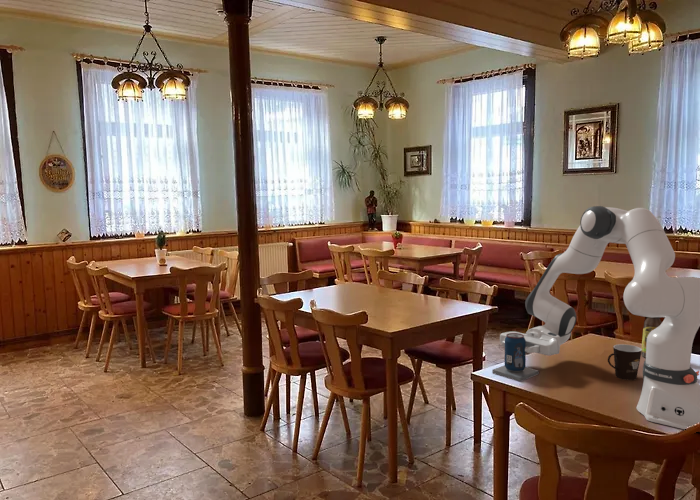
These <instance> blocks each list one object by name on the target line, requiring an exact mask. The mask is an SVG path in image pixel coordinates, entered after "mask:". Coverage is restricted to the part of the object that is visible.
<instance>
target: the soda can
mask: <svg viewBox="0 0 700 500" xmlns="http://www.w3.org/2000/svg"><path fill="white" fill-rule="evenodd" d="M519 333H520V332H519ZM519 333H509V334H507V335H506V338H505V347H504V365H505V367H506V369H507V370H509V371H512V372H521V371H523V370H524V368H525V367H527V366H526V365H527V363H526V362H527V361H526V360H527V359H526V357H527V355H526V354H527V352H525V347H526V340H525V338H524V335H522V334H519Z"/></svg>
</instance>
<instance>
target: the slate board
mask: <svg viewBox="0 0 700 500" xmlns="http://www.w3.org/2000/svg"><path fill="white" fill-rule="evenodd" d="M539 371H540V370H538V369H534V368H530V367H527V366H525V368H524V370H523V371H521V372H512V371H509V370H507V369H506V367H505V364H504V365H502V366H498V367H496V368H493V369H492V372H491V373H492V374H493V375H498V376H501V377H504V378H507V379H509V380H510V379H511V380H514V381H517V382H521V381H525V380H528V379H529V378H532V377H535V376H537V375H539V373H540V372H539Z"/></svg>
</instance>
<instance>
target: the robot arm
mask: <svg viewBox="0 0 700 500" xmlns="http://www.w3.org/2000/svg"><path fill="white" fill-rule="evenodd" d="M609 243H611V244H620V245H621V244H623V245H625V246H626V249H627V251H628V253H629V256H630V259H631V261H632V264H633V268H634V275H633V277H632V279H631V281H629V282H628V284H627V285H626V286H625V288H624V292H623V303H624V306H625V307H626V309H627V311H629V312H630V313H631V314H632V315H635V316H638V317H639V316H640V317H644V318H645V317H646V318H648V317H660V318H664V319H663V321H661V322H662V323H661V325H660V326H658V327H657V328H656V329H654V330H652V331H651V332H650V333H649V334H648V337H647V344H646V358H645V360H644V361H643V367H642V379H643V383H642V389H641V392H640V396H639V400H638V401H637V405H636V410H637V411H638V412H639V413H641V415H643V416H644V417H645V419H646V421H649V422H651V423H656V424H661V425H664V426H669V427H673V428H676V429H677V428H678V429H682V430H685V428H687V427H689V426H692V425H694V424H696V423H698V422H700V383H699V382H698V376H699V375H700V371H699V370H697V371H695V370H694V369H693V368H692V367H691V358H692V351H693V350H692V349H693V348H692V347H693V343H694V339H695V337H696V334H697V332H698V330H699V328H700V277H696V276H681V277H680V276H677V277H672V276H669V275H668V274H667V272H666V271H667V270H668V269H669V268H671V267H672V266H673V264H674V262H675V260H676V252H675V251H674V249H673V247H672V244H671V242H670V240H669V238H668V236H667V234H666V231H665V229H664V227H662V224H661V223H660V222H659V220H658V219H657V217H656V216H655V215H654V214H653V212H652V211H651V210H649V209H647V208H645V207H635V208H633V209H630V210H626V209H622V208H619V207H618V208H617V207H609V206H604V205H596V206H595V205H594V206H590V207H587V208H586V209H585V211H584V212H583V213H582V215H581V217H580V224H579V226H578V227H577V229H576V231H575V233H574V234H573V236H572V238H571V241H570V242H569V246H568V247H567V249H566V250H565V251H564V252H563V253H558V254H556V255H555V256H554V258H552V260H551V261H550V263H549V264H548V266H547V268H546V269H545V270H544V272H543V274H542V276H541V277H540V279H539V281H538V282H537V283H536V285H535V286H534V288H533V289H532V291H531V292H530V293H529V294H528V296H527V297H526V299H525V303H524V304H525V309H526V312H527V314H528V315H531V316H532V317H535V318H537V319H539V320H540V321H542V322H543V323H544V324H543V325H538V326H535V327H532V328H529V329H528V330H527V331H526V332H525V333H522V332H519V331H506V332H502V333H500V334H499V343H500V344H501V347H504V348H505V338H506V335H507V334H509V333H519V334H522V335H524V338H525V340H526V347H525V352H526V354H527V353H528V354H531V353H535V354H536V353H537V354H540V355H544V356H549V357H550V356H554V355H558V354H560V352H561V351H560V350H561V345H563V344H565V343H566V342H567V341H568V340H569V339H570V337H571V334H572V331H573V330H574V328H575V326H576V324H577V313H576V310H575V308H574V307H572V306H570V304H567V303H566V302H564V301H562V300H560V299H558V298H557V297H555V296H553V295H551V293H550V290H551V289H552V288H553V286H554V284H555V283H556V280H557V279H558V278H559V276H560V275H561V274H563V273H564V274H565V273H566V274H575V275H584V274H590V273H591V272H593V271H594V270H596V268H598V266H599V264H600V262H601V260H602V257H603V255H604V253H605V250H606V247H608V244H609Z"/></svg>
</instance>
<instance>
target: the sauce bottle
mask: <svg viewBox="0 0 700 500" xmlns="http://www.w3.org/2000/svg"><path fill="white" fill-rule="evenodd" d="M660 318H661V317H646V319H645V320H644V322H643V323H644V324H643V329H642V337H641V338H642V339H641V340H642V341H641V349H642V352H641V356H642V357H643V358H645V359H646V344H647V337H648V334H649V333H650V332H651V331H652V330H654V329H656V328H657V327H658V326H660V325H661V323H662V322H663V321H662V320H661V319H660Z"/></svg>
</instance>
